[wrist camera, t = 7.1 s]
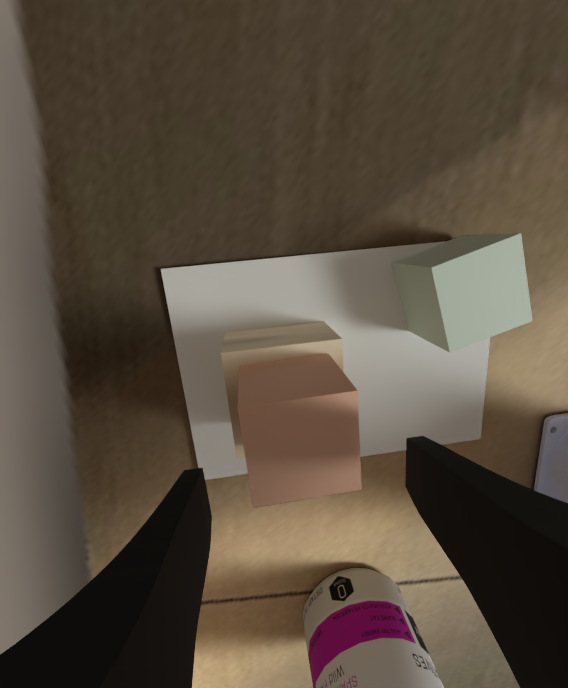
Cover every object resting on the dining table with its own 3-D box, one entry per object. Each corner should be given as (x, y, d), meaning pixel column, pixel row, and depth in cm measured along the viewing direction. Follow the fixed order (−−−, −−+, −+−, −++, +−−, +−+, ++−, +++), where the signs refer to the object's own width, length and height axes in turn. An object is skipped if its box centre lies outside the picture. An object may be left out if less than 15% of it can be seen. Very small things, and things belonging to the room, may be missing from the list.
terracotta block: (334, 432, 18) (361, 489, 14) (251, 444, 18) (253, 508, 14) (328, 353, 17) (357, 390, 13) (239, 365, 17) (237, 407, 12)
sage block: (474, 305, 21) (532, 321, 17) (408, 331, 21) (449, 352, 17) (461, 235, 20) (521, 233, 16) (391, 262, 20) (431, 267, 16)
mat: (477, 436, 25) (480, 438, 24) (201, 476, 23) (200, 480, 23) (494, 236, 21) (499, 236, 20) (162, 268, 19) (160, 269, 19)
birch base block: (328, 409, 22) (346, 443, 19) (237, 422, 22) (236, 459, 18) (324, 321, 21) (342, 338, 17) (225, 332, 20) (220, 352, 16)
